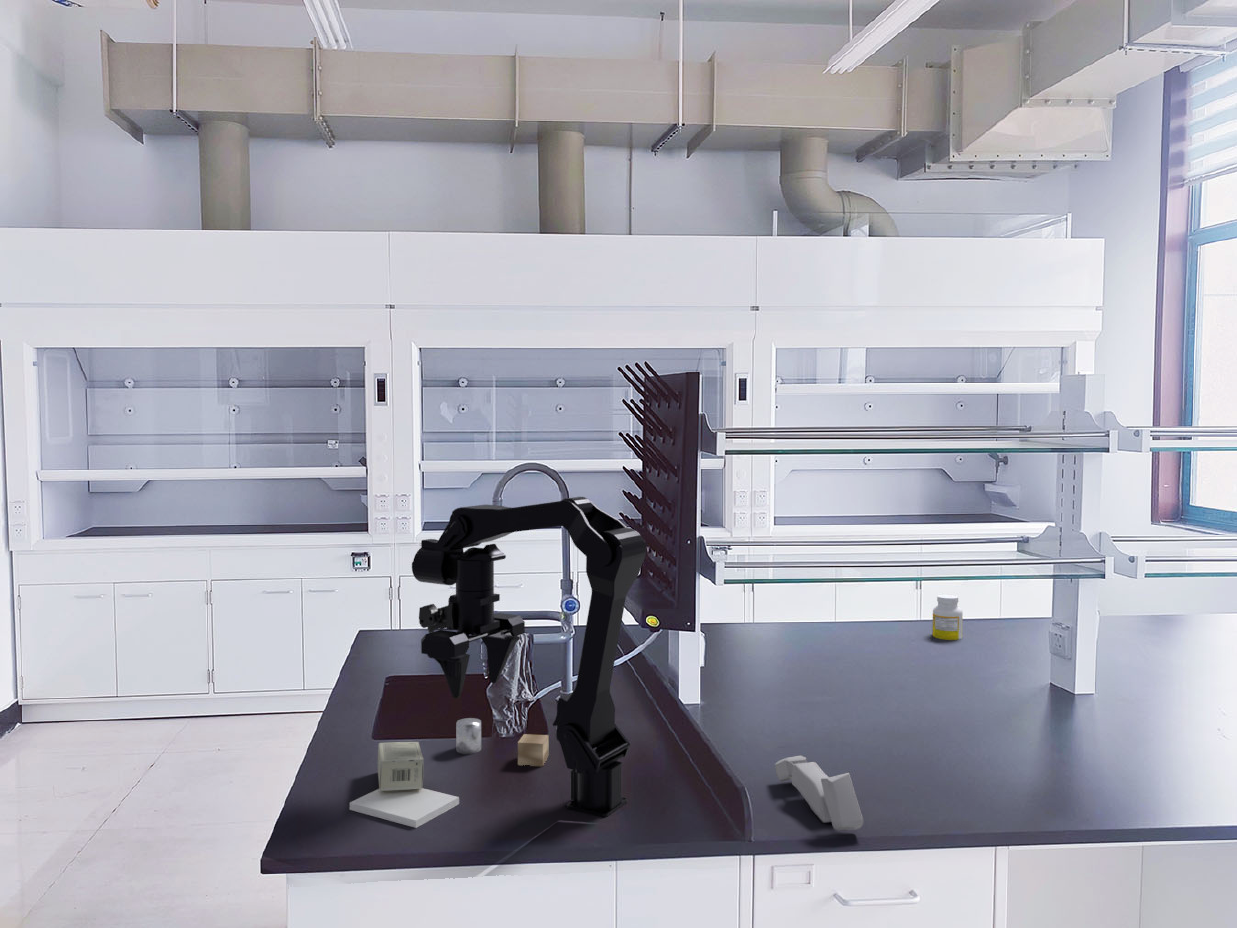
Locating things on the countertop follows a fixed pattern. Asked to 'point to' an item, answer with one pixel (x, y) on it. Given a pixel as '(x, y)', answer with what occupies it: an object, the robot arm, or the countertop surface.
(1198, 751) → the countertop surface
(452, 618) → the robot arm
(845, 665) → the countertop surface
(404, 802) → the grey mat
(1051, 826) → the countertop surface
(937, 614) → the supplement bottle
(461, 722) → the metal cylinder
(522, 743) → the oak block
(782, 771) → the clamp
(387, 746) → the skincare box
